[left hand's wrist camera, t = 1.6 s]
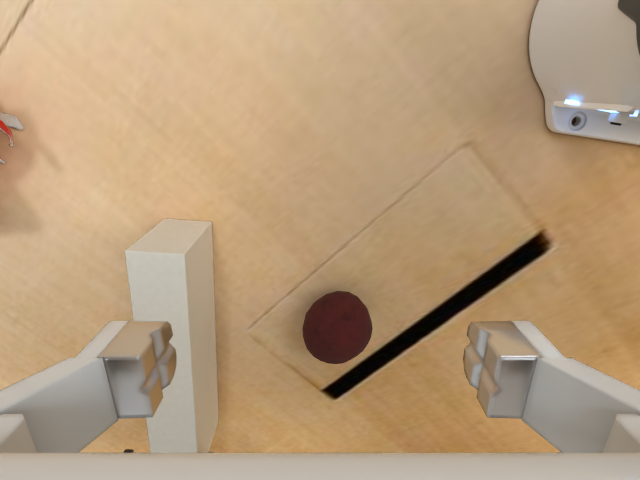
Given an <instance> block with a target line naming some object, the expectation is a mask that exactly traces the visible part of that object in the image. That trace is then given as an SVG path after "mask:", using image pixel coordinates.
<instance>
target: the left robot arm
mask: <svg viewBox="0 0 640 480" xmlns="http://www.w3.org/2000/svg"><path fill="white" fill-rule="evenodd" d="M529 56H530V62H531V66H532V70H533V73H534V76H535V78H536V80H537V82H538V84H539V86H540V88H541V90H542V93H543V95H544V98H545V118H546V124H547V127H548V128H549V129H550V130H551V131H552V132H555V133H562V134H568V135H575V136H582V137H588V138H595V139H601V140H608V141H615V142H621V143H628V144H634V145H640V0H539V1H538V3H537V6H536V9H535V12H534V15H533V19H532V23H531V28H530V35H529ZM574 117H575V118H576V122H575V123H574V124H573V125H572V123H571V122H572V119H573V118H574ZM172 336H173V332H172V327H171V324H170V323H169V322H168V321H129V320H128V321H111V322H108V323H107V324H106V325H105V326H104V328H103V329H102V330H101V331H100V332H99V333H98V334H97V335H96V336H95V337H94V338H93V339H92V340H91V341H90V342H89V343H88V344H87V345H86V347H85V348H84V349H83V350H82V351H81V352H80V353H79V354H78V355H77V356H76V357H75V358H67V359H65V360H63V361H61V362H59V363H57V364H55V365H53V366H50V367H48V368H46V369H44V370H42V371H40V372H38V373H36V374H34V375H31V376H29V377H27V378H25V379H23V380H21V381H19V382H17V383H15V384H12V385H10V386H8V387H6V388H4V389H2V390H0V480H640V390H638V389H636V388H634V387H632V386H629V385H627V384H625V383H623V382H621V381H619V380H617V379H615V378H613V377H611V376H608V375H606V374H604V373H602V372H600V371H598V370H596V369H594V368H592V367H590V366H587V365H585V364H583V363H581V362H579V361H577V360H575V359H573V358H565V357H564V356H563V355H562V354H561V353H560V352H559V351H558V350H557V349H556V348H555V347H554V345H553V344H552V343H551V342H550V341H549V340H548V339H547V338H546V337H545V336H544V335H543V334H542V333H541V332H540V331H539V330H538V329H537V327H536V326H535V325H534V324H533V323H532V322H530V321H527V320H521V321H494V322H471V323H470V325H469V327H468V332H467V336H468V338H469V339H470V341H471V343H470V344H469V345H468V346H467V347H466V348H465V349H464V357H463V362H464V371H465V374H466V377H467V379H468V381H469V383H470V385H472V386H473V387H475V388H476V389H477V390H478V392H477V399H478V401H479V403H480V405H481V406H482V408H483V410H484V412H485V414H486V416H487V418H522V421H524V422H525V423H526V424H527V425H528V426H530V427H531V428H532V429H533V430H535V431H536V432H537V433H538V434H540V435H541V436H542V437H543V438H544V439H546V440H547V441H548V442H549V443H551V444H552V445H553V446H554V447H555V448H557V449H558V450H559V451H560V452H562V453H79V452H80V451H81V450H82V449H83V448H85V447H86V446H87V445H88V444H90V443H91V442H92V441H93V440H94V439H96V438H97V437H98V436H99V435H101V434H102V433H103V432H104V431H106V430H107V429H108V428H109V427H110V426H112V425H113V424H114V423H115V422H117V421H118V418H152V417H153V416H154V414H155V412H156V410H157V408H158V406H159V405H160V403H161V401H162V399H163V392H162V390H163V389H164V388H165V387H167V386H168V385H170V383H171V381H172V379H173V377H174V374H175V370H176V365H177V356H176V349H175V348H174V347H173V346H172V345H171V344H170V343H169V341H170V339H171V338H172Z"/></svg>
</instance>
